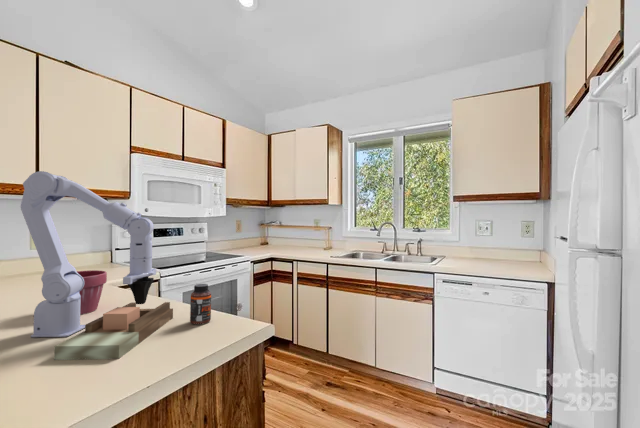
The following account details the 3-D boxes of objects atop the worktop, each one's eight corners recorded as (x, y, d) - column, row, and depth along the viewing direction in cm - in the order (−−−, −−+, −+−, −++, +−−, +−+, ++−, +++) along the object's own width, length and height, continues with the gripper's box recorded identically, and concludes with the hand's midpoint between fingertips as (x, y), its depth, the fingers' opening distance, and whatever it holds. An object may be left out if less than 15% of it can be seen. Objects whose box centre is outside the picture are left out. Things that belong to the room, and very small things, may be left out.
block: (102, 329, 78) (103, 314, 78) (117, 321, 84) (117, 307, 84) (126, 329, 78) (127, 313, 78) (139, 321, 84) (139, 307, 84)
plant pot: (77, 319, 94) (78, 278, 94) (40, 316, 96) (41, 276, 97) (116, 306, 108) (116, 270, 108) (82, 304, 110) (83, 269, 111)
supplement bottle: (203, 326, 89) (204, 287, 89) (185, 324, 90) (186, 286, 90) (214, 319, 95) (215, 283, 95) (197, 318, 96) (198, 282, 96)
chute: (54, 359, 67) (54, 337, 67) (127, 318, 95) (127, 302, 95) (119, 358, 68) (119, 336, 68) (172, 317, 96) (173, 302, 96)
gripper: (141, 261, 83) (141, 310, 83) (165, 254, 97) (165, 297, 97) (115, 261, 83) (114, 311, 82) (143, 254, 97) (143, 297, 97)
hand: (140, 303), depth 90 cm, fingers closed
